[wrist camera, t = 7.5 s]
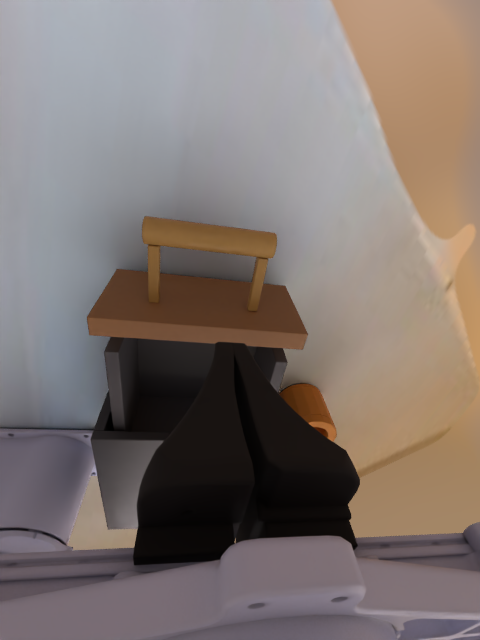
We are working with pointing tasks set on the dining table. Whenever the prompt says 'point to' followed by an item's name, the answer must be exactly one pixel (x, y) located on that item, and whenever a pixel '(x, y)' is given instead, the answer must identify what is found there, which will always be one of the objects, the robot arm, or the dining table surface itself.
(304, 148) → the dining table surface
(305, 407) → the jar
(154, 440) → the cabinet
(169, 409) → the drawer
